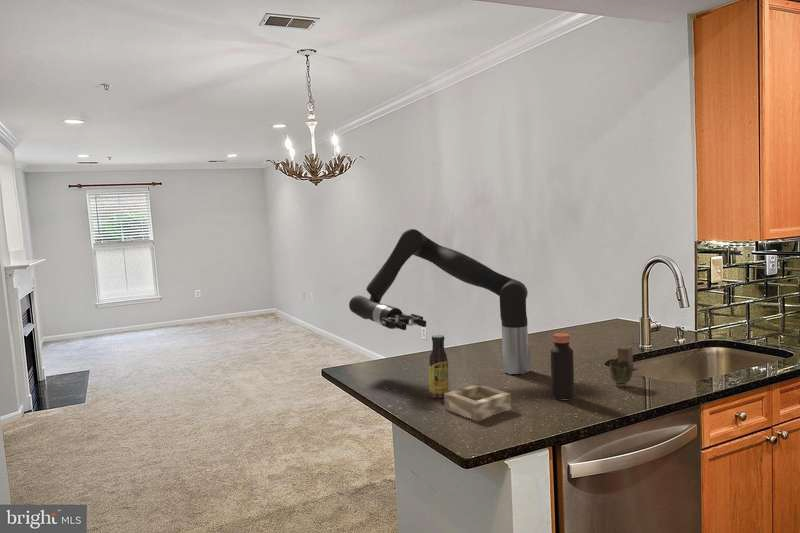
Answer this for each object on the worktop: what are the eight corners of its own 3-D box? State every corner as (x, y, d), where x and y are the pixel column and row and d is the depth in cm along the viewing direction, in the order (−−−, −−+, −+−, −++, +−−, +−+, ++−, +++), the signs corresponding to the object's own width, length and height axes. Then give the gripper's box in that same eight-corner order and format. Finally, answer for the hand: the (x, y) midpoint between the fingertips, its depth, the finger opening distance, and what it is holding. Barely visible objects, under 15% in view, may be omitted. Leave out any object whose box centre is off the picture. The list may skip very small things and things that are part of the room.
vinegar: (570, 402, 179) (569, 337, 177) (548, 399, 183) (547, 336, 181) (576, 395, 185) (575, 333, 183) (555, 392, 188) (554, 331, 186)
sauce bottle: (435, 400, 186) (433, 339, 184) (425, 395, 192) (423, 335, 190) (453, 396, 189) (450, 336, 187) (442, 391, 195) (440, 333, 193)
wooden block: (617, 369, 211) (617, 347, 211) (622, 366, 214) (622, 345, 213) (628, 371, 209) (628, 348, 208) (633, 368, 211) (632, 346, 211)
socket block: (478, 399, 186) (477, 383, 185) (511, 410, 174) (510, 393, 174) (444, 409, 178) (444, 393, 177) (476, 421, 166) (476, 404, 166)
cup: (633, 383, 194) (632, 360, 193) (634, 390, 187) (633, 366, 186) (609, 382, 196) (608, 359, 195) (609, 389, 189) (609, 365, 188)
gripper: (371, 307, 205) (399, 317, 193) (403, 303, 214) (432, 312, 201) (370, 328, 206) (398, 339, 194) (403, 323, 215) (431, 333, 202)
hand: (415, 325), depth 197 cm, fingers open, 8 cm apart
